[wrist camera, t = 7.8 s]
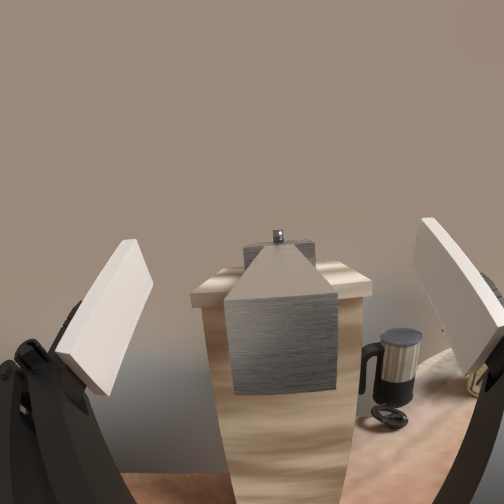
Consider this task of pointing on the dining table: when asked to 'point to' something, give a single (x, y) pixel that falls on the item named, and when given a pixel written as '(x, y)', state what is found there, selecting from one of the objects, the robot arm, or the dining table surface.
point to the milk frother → (392, 372)
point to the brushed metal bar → (282, 321)
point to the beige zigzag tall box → (287, 405)
